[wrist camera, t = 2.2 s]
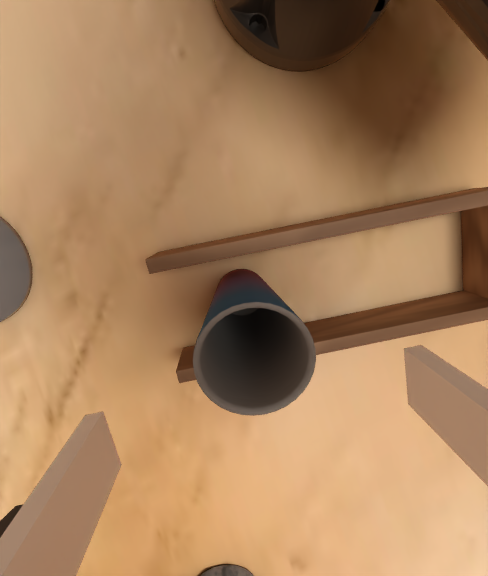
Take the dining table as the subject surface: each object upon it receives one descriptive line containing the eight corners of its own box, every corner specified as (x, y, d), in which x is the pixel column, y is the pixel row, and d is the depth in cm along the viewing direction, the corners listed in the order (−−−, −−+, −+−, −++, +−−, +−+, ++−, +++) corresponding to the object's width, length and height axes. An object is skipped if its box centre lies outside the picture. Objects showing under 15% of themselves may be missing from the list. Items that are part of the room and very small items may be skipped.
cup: (276, 260, 31) (320, 302, 17) (273, 325, 33) (311, 415, 18) (207, 259, 31) (191, 301, 16) (208, 325, 32) (193, 416, 18)
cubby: (158, 252, 30) (145, 259, 26) (472, 188, 31) (519, 184, 26) (186, 358, 33) (179, 383, 28) (474, 299, 33) (516, 313, 29)
